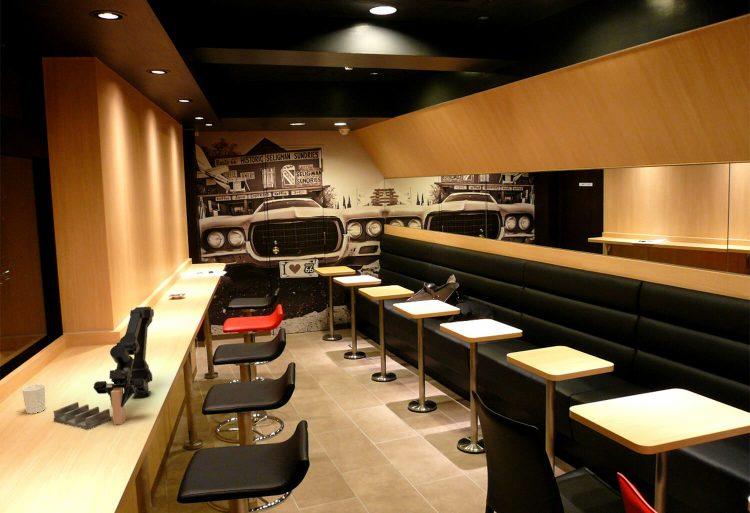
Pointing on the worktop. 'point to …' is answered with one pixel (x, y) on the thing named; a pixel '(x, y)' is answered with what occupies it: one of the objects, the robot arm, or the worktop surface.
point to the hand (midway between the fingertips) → (117, 407)
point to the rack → (81, 416)
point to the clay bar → (118, 406)
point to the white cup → (34, 398)
